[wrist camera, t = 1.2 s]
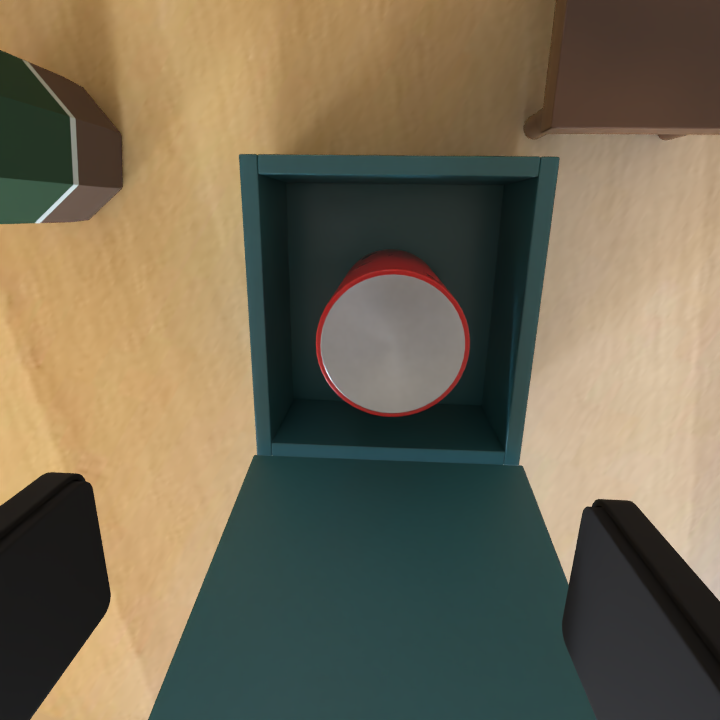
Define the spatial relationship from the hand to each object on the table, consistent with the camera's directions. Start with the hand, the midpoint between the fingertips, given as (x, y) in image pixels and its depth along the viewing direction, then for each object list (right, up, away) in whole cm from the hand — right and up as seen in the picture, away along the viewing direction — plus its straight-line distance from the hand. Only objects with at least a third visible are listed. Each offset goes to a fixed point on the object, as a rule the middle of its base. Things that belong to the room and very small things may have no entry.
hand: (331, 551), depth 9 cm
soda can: (+2, +7, +19) cm, 20 cm away
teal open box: (+2, +7, +19) cm, 21 cm away
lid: (+1, -5, +8) cm, 9 cm away
